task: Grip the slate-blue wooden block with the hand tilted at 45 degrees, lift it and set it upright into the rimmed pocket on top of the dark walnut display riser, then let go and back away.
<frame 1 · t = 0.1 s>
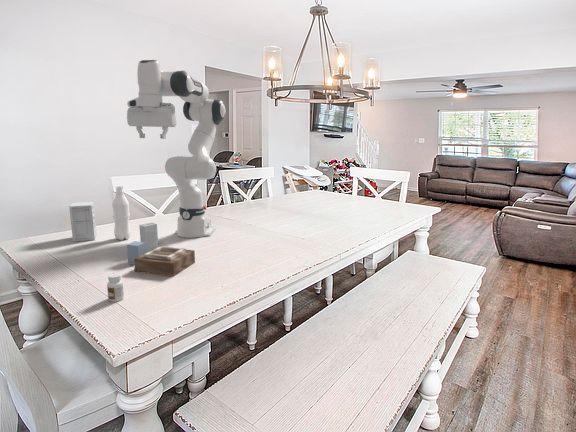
hand: (152, 138, 154), 48 cm above the table, tool pointing down, fingers open, 8 cm apart
display riser: (166, 266, 146), on the table
water bottle: (123, 239, 182), on the table
supplement box: (85, 238, 181), on the table
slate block: (137, 261, 152), on the table
pill bottle: (116, 299, 118), on the table
skincare box: (149, 251, 165), on the table
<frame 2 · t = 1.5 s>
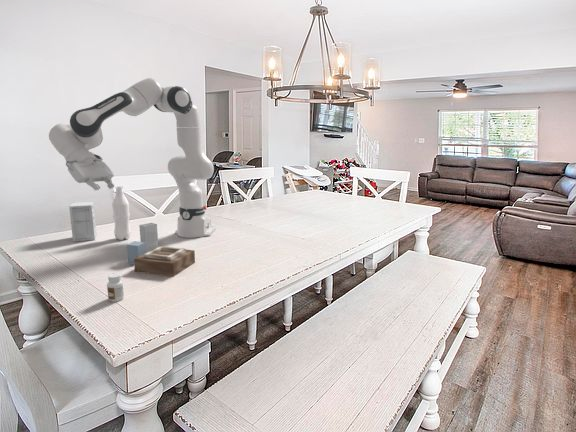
hand: (105, 188, 148), 29 cm above the table, tool tilted 45°, fingers open, 8 cm apart
nothing on the table moved.
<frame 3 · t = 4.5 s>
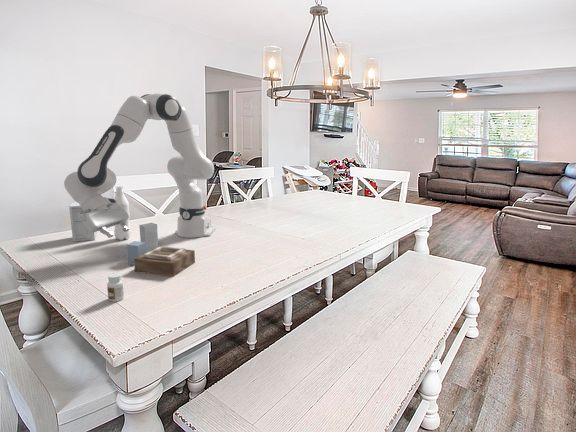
hand: (119, 233, 151), 11 cm above the table, tool tilted 45°, fingers open, 8 cm apart
nothing on the table moved.
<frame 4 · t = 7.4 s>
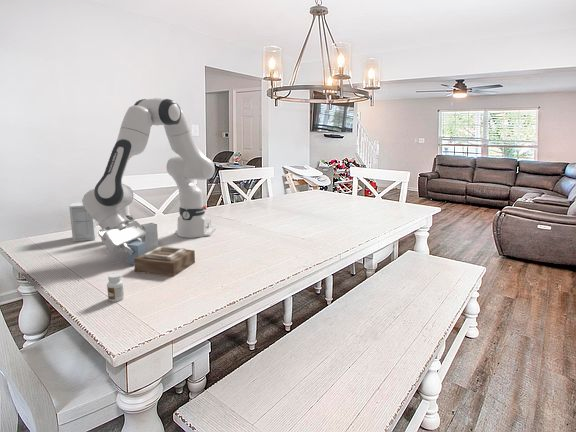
hand: (138, 251, 150), 4 cm above the table, tool tilted 45°, fingers closed on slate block, 5 cm apart
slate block: (137, 261, 152), on the table, touching gripper
everything else where it was.
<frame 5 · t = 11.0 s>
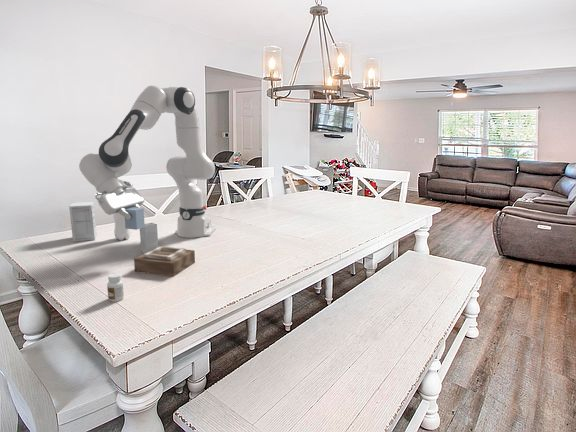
hand: (135, 216, 147), 18 cm above the table, tool tilted 45°, fingers closed on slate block, 5 cm apart
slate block: (135, 227, 149), point 14 cm above the table, touching gripper
everything else where it was.
when the fingers open (10 cm above the table, at t = 15.0 s): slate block stays where it is, resting on display riser.
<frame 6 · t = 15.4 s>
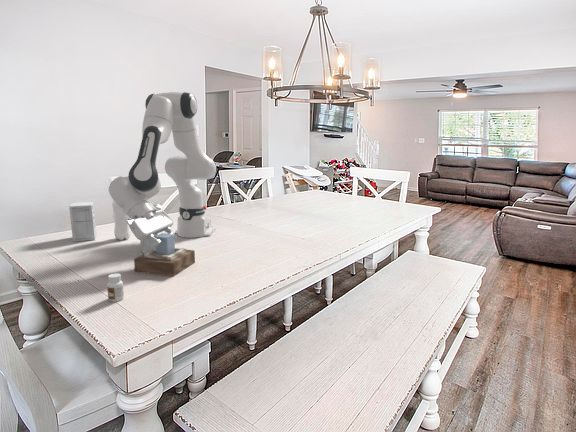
hand: (166, 241, 144), 10 cm above the table, tool tilted 45°, fingers open, 8 cm apart
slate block: (165, 254, 145), point 5 cm above the table, touching display riser
everything else where it was.
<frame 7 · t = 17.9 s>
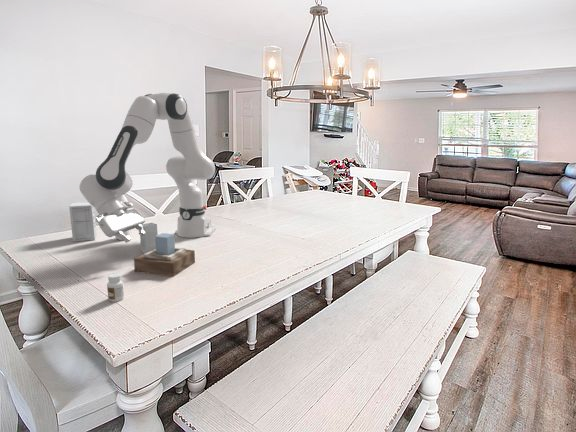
hand: (136, 237, 147), 10 cm above the table, tool tilted 45°, fingers open, 8 cm apart
nothing on the table moved.
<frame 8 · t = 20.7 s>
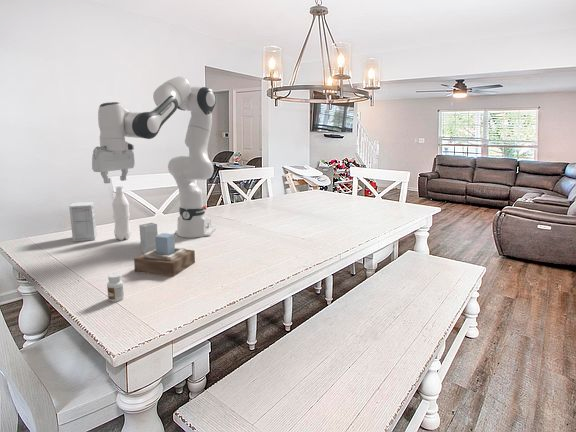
hand: (115, 181, 149), 31 cm above the table, tool pointing down, fingers open, 8 cm apart
nothing on the table moved.
at the end: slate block 0.1 cm off-centre on the display riser, point 5.0 cm above the display riser's base; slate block tilted 0°; the gripper is holding nothing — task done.
